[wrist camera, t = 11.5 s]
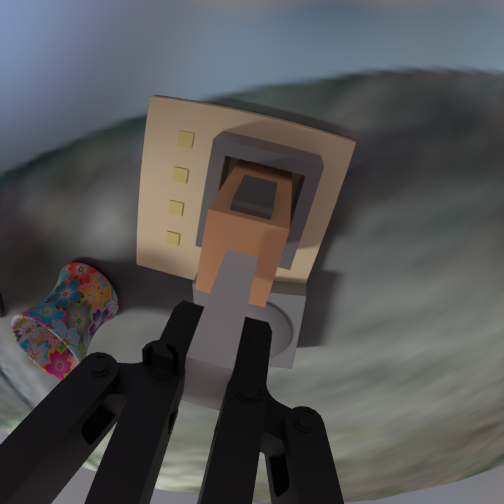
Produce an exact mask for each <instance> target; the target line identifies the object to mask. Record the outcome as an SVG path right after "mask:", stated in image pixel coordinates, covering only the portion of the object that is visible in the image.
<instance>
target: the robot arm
mask: <svg viewBox="0 0 504 504" xmlns="http://www.w3.org/2000/svg"><path fill="white" fill-rule="evenodd" d="M257 260H258V257H257V256H253V255H249V254H245V253H241V252H237V251H233V250H230V249H226V252H225V254H224V257H223V260H222V262H221V265H220V267H219V270H218V273H217V275H216V278H215V280H214V283H213V286H212V288H211V291H210V294H209V296H208V299H207V302H206V304H205V306H201V305H197V304H194V303H190V302H187V301H182V302H181V303H180V304H178V305H177V306H176V307H175V308H174V310H173V312H172V314H171V316H170V318H169V320H168V322H167V325H166V327H165V329H164V331H163V333H162V335H161V337H160V339H159V340H155V341H152V342H150V343H148V344H146V345H145V347H144V348H143V349H142V356H143V362H140V363H132V364H130V363H117V362H116V360H115V359H114V358H113V357H112V356H111V355H109V354H106V353H101V352H96V353H92V354H90V355H88V356H87V357H85V358H84V359H83V360H82V361H81V362H80V363H79V364H78V365H77V366H76V367H75V368H74V369H73V370H72V371H71V372H70V373H69V374H68V375H67V376H66V377H65V378H64V379H63V380H62V381H61V382H60V383H59V384H58V385H57V386H56V387H55V388H54V389H53V390H52V391H51V392H50V393H49V394H48V395H47V396H46V397H45V398H44V399H43V400H42V401H41V402H40V403H39V404H38V405H37V406H36V407H35V408H34V410H33V411H32V412H31V413H30V414H29V415H28V416H27V417H26V418H25V419H24V420H23V421H22V422H21V423H20V424H19V425H18V426H17V427H16V428H15V429H14V431H13V432H12V433H11V434H10V435H9V436H8V437H7V438H6V439H5V440H4V441H3V442H2V444H0V504H51V503H52V502H53V500H54V499H55V498H56V497H57V496H58V494H59V493H60V492H61V491H62V489H63V488H64V487H65V486H66V484H67V483H68V482H69V481H70V479H71V478H72V477H73V476H74V474H75V473H76V472H77V471H78V469H79V468H80V467H81V466H82V465H83V463H84V462H85V461H86V460H87V458H88V457H89V456H90V455H91V453H92V452H93V451H94V450H95V448H96V447H97V446H98V445H99V443H100V442H101V441H102V440H103V438H104V437H105V436H106V435H107V433H108V432H109V431H110V430H111V429H112V427H113V426H114V425H115V424H116V422H117V421H118V422H117V424H116V427H115V429H114V431H113V434H112V436H111V438H110V441H109V443H108V446H107V448H106V450H105V453H104V455H103V458H102V460H101V463H100V465H99V468H98V470H97V473H96V475H95V478H94V480H93V483H92V485H91V488H90V490H89V493H88V496H87V498H86V501H85V504H150V500H151V497H152V494H153V490H154V487H155V484H156V481H157V478H158V474H159V471H160V468H161V465H162V462H163V458H164V455H165V452H166V449H167V446H168V442H169V439H170V436H171V433H172V430H173V427H174V424H175V420H176V417H177V414H178V407H179V403H180V400H184V401H187V402H191V403H194V404H198V405H202V406H205V407H209V408H213V409H217V410H220V413H219V417H218V420H217V424H216V427H215V430H214V436H213V440H212V444H211V449H210V453H209V457H208V461H207V465H206V469H205V473H204V478H203V482H202V486H201V490H200V494H199V498H198V502H197V504H252V500H253V493H254V487H255V480H256V474H257V467H258V460H259V454H260V452H262V453H264V454H265V461H266V468H267V475H268V482H269V489H270V496H271V502H272V504H344V501H343V497H342V493H341V489H340V485H339V481H338V477H337V473H336V469H335V465H334V461H333V457H332V453H331V449H330V445H329V441H328V437H327V433H326V429H325V425H324V422H323V420H322V418H321V415H319V414H318V413H317V412H316V411H315V410H313V409H311V408H309V407H304V406H299V407H295V408H293V409H291V408H289V407H287V406H285V405H283V404H281V403H279V402H278V401H276V400H275V399H274V398H273V397H272V396H271V395H270V393H269V392H268V389H267V385H266V381H267V373H268V365H269V357H270V349H271V341H272V333H273V332H272V330H271V327H270V325H269V322H266V321H261V320H257V319H253V318H249V317H245V315H246V311H247V306H248V301H249V297H250V292H251V288H252V283H253V279H254V274H255V269H256V265H257ZM2 314H3V303H2V299H1V296H0V317H1V316H2ZM181 397H182V399H181Z"/></svg>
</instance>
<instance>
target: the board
mask: <svg viewBox="0 0 504 504" xmlns="http://www.w3.org/2000/svg"><path fill="white" fill-rule="evenodd" d="M355 145H356V142H355V141H354V140H352V139H349V138H346V137H343V136H340V135H337V134H333V133H330V132H327V131H323V130H320V129H317V128H313V127H310V126H306V125H303V124H299V123H295V122H291V121H288V120H284V119H280V118H276V117H272V116H268V115H264V114H259V113H255V112H250V111H246V110H241V109H237V108H232V107H227V106H222V105H216V104H211V103H205V102H200V101H194V100H187V99H181V98H174V97H168V96H160V95H153V96H150V100H149V107H148V114H147V121H146V129H145V138H144V147H143V156H142V167H141V178H140V191H139V207H138V227H137V265H141V266H144V267H148V268H151V269H155V270H158V271H162V272H165V273H169V274H173V275H176V276H180V277H183V278H187V279H191V280H194V279H195V277H196V274H197V272H198V267H199V260H200V254H201V248H202V242H203V235H204V229H205V223H206V218H207V212H208V208H209V207H210V205H211V203H212V202H213V200H214V199H215V197H216V195H217V194H218V192H219V191H220V189H221V187H222V186H223V184H224V183H225V181H226V180H227V178H228V176H229V175H230V173H231V172H232V170H233V169H234V167H235V166H236V164H237V162H238V161H239V159H242V160H246V161H251V162H255V163H259V164H263V165H267V166H271V167H275V168H278V169H282V170H286V171H290V172H292V191H291V214H290V231H289V234H288V237H287V240H286V243H285V247H284V250H283V253H282V256H281V259H280V262H279V265H278V268H277V271H276V274H275V278H274V281H282V282H291V283H301V284H306V282H307V279H308V276H309V274H310V271H311V269H312V266H313V264H314V261H315V258H316V256H317V253H318V250H319V248H320V245H321V243H322V240H323V237H324V234H325V232H326V229H327V226H328V224H329V221H330V218H331V215H332V212H333V210H334V207H335V204H336V201H337V198H338V196H339V193H340V190H341V187H342V184H343V181H344V178H345V175H346V172H347V169H348V166H349V163H350V160H351V157H352V154H353V151H354V148H355Z"/></svg>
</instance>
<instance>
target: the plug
mask: <svg viewBox="0 0 504 504" xmlns="http://www.w3.org/2000/svg"><path fill="white" fill-rule="evenodd" d="M291 191H292V172H290V171H286V170H282V169H278V168H275V167H271V166H267V165H263V164H259V163H255V162H251V161H246V160H242V159H239V161H238V162H237V164H236V166H235V167H234V169H233V170H232V172H231V173H230V175H229V176H228V178H227V180H226V181H225V183H224V184H223V186H222V187H221V189H220V191H219V192H218V194H217V195H216V197H215V199H214V200H213V202H212V203H211V205H210V207H209V208H208V212H207V218H206V223H205V229H204V235H203V242H202V248H201V254H200V260H199V267H198V274H197V280H196V287H195V289H196V290H200V291H203V292H207V293H210V291H211V288H212V286H213V283H214V280H215V278H216V275H217V273H218V270H219V267H220V265H221V262H222V260H223V257H224V254H225V252H226V249H230V250H233V251H237V252H241V253H245V254H249V255H253V256H257V257H258V260H257V265H256V269H255V274H254V279H253V283H252V288H251V292H250V297H249V301H248V303H249V304H253V305H257V306H261V307H265V305H266V302H267V299H268V296H269V293H270V290H271V287H272V284H273V281H274V278H275V274H276V271H277V268H278V265H279V262H280V259H281V256H282V253H283V250H284V247H285V243H286V240H287V237H288V234H289V231H290V214H291Z"/></svg>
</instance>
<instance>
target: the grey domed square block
mask: <svg viewBox="0 0 504 504" xmlns="http://www.w3.org/2000/svg"><path fill="white" fill-rule="evenodd" d="M197 274H198V272H197ZM197 274H196V277H195V279H194V281H193V283H192V287H193V299H194V304H197V305H201V306H205V304H206V302H207V299H208V296H209V294H210V293H207V292H203V291H200V290H196V289H195V287H196V280H197ZM305 301H306V284H301V283H291V282H282V281H273V284H272V287H271V290H270V293H269V296H268V299H267V302H266V305H265V307H261V306H257V305H253V304H249V303H248V306H247V311H246V315H245V317H249V318H253V319H257V320H261V321H266V322H269V325H270V327H271V330H272V332H273V333H272V341H271V349H270V357H269V365H268V366H269V367H279V368H289V369H292V366H293V361H294V357H295V352H296V347H297V342H298V337H299V332H300V327H301V322H302V317H303V312H304V307H305Z"/></svg>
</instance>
